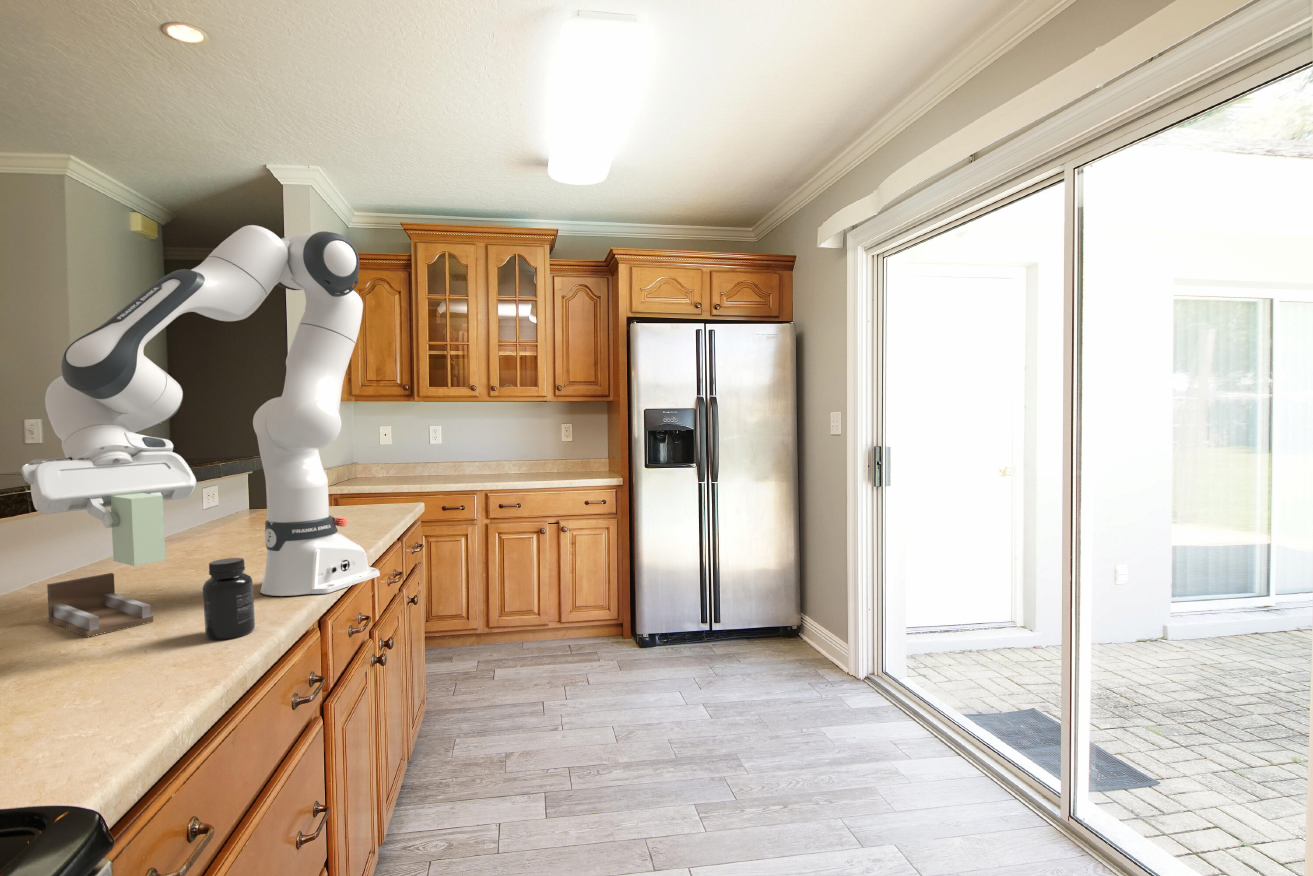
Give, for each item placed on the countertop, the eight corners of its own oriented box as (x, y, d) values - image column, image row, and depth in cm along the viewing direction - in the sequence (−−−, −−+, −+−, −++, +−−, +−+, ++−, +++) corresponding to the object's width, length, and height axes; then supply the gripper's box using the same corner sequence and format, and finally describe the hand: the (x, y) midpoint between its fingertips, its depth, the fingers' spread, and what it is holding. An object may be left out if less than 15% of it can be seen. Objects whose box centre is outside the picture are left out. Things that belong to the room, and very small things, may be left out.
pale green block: (113, 560, 101) (110, 495, 100) (144, 555, 104) (141, 492, 104) (134, 566, 97) (131, 498, 97) (165, 560, 101) (162, 495, 100)
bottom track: (49, 621, 114) (47, 584, 113) (112, 607, 121) (111, 572, 121) (87, 637, 106) (85, 597, 105) (153, 621, 113) (151, 584, 113)
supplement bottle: (249, 623, 112) (246, 553, 111) (259, 633, 107) (257, 560, 106) (200, 633, 107) (197, 560, 107) (209, 644, 102) (206, 567, 102)
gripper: (21, 446, 95) (52, 519, 91) (181, 439, 113) (213, 500, 108) (12, 475, 98) (41, 547, 93) (170, 464, 115) (200, 524, 111)
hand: (135, 522), depth 101 cm, fingers closed on pale green block, 4 cm apart
